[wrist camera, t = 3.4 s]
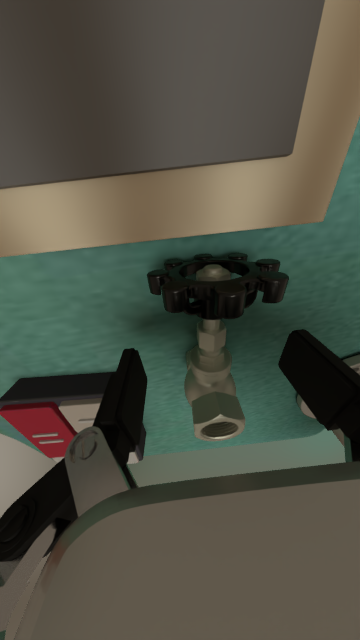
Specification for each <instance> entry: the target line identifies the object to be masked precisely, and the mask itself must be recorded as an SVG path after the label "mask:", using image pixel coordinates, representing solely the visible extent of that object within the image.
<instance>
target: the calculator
mask: <svg viewBox="0 0 360 640" xmlns="http://www.w3.org/2000/svg"><path fill="white" fill-rule="evenodd" d="M112 373H114V372H107V373H93V374H78V375H64V376H50V377H35V378H22V379H19V380H18V381H17V382H16V383H15V384H14V385H13V386H12V387H11V388H10V389H9V390H8V391H7V392H6V393H5V394H4V395H3V396H2V397H1V398H0V408H1V409H0V415H1V416H2V417H4V418H5V419H6V420H7V421H8V422H9V423H10V424H11V425H13V426H14V427H15V428H16V429H17V430H18V431H19V432H20V433H21V434H23V435H24V436H25V437H26V438H27V439H28V440H29V441H30V442H32V443H33V444H34V445H35V446H36V447H37V448H38V449H39V450H41V451H42V452H43V453H44V454H45V455H46V456H47V457H49V458H53V459H54V460H55V461H56V462H57V463H58V462H60V461H61V460H62V459H63V458H64V457H65V453H66V449H67V447H68V445H69V443H70V442H71V440H72V439H73V438H74V436H76V435H77V434H78V433H79V432H80V431H82V430H83V429H85V428H87V427H90V426H92V425H93V423H94V420H95V417H96V414H97V412H98V409H99V406H100V403H101V400H102V398H103V395H104V392H105V389H106V387H107V384H108V381H109V378H110V376H111V374H112ZM145 438H146V431H145V428H144V426H143V423H142V428H141V436H140V443H139V445H137V446H136V450H135V452H131V453H129V459H128V462H127V464H130V463H138V462H139V461H140V460H142V459H143V454H144V446H145Z"/></svg>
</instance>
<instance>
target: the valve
mask: <svg viewBox="0 0 360 640" xmlns="http://www.w3.org/2000/svg"><path fill="white" fill-rule="evenodd" d="M247 257H248V256H247V254H243V253H234V254H230V255H228V258H212V255H211V254H198V255H196V256H195V257H194V259H195V261H190V262H183V261H182V260H178V259H174V260H168V261H166V262H165V263H164V266H165V270H163V269H160V270H154V271H151V272H149V273H148V274H147V278H148V283H149V288H150V292H151V293H152V294H154V295H161V291H162V297H163V303H164V308H165V310H166V311H168V312H171V313H180V312H184V313H186V314H188V315H197V316H198V317H200V318H202V319H203V320H202V321H200V322H199V323H197V339H198V345H197V346H195V347H194V348H193V349H192V350H190V351H188V352H187V353H186V360H187V370H188V372H187V374H186V377H185V383H184V389H185V394H186V398H187V400H188V402H189V404H190V405H191V407H192V414H193V423H194V432H195V437H197V438H199V439H202V440H206V441H221V440H226V439H230V438H233V437H235V436H237V435H239V434H240V433H241V432H242V431H243V430H244V427H245V417H244V414H243V411H242V409H241V406H240V403H239V401H238V398H237V397H236V386H235V382H234V379H233V377H232V375H231V373H230V369H231V363H232V357H231V354H230V352H229V351H228V350H227V349H226V348H225V347H224V346H225V340H226V327H225V325H224V323H223V322H222V321H220V319H222V318H224V319H235V318H238V317H240V316H242V315H243V313H244V309H245V308H247V307H249V306H250V305H251V304H252V303H253V302H254V301H255V299H256V296H257V293H258V290H259V291H262V292H264V294H263V299H262V302H263V303H278V302H280V301H282V299H283V297H284V293H285V290H286V287H287V283H288V280H289V276H288V275H287V274H285V273H282V272H278V271H279V267H280V261H278V260H274V259H260V260H257V261H256V262H248V261H247ZM230 272H231V273H236V274H239V275H241V276H242V277H239V278H235V279H231V280H230V278H231V274H230ZM195 273H196V280H191V279H187V278H185V277H186V276H189V275H191V274H195ZM189 298H193V299H194V302H192V303H189Z"/></svg>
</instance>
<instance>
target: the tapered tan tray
mask: <svg viewBox="0 0 360 640" xmlns="http://www.w3.org/2000/svg"><path fill="white" fill-rule="evenodd" d="M359 116H360V0H0V257H6V256H15V255H24V254H33V253H42V252H51V251H60V250H69V249H78V248H88V247H97V246H106V245H115V244H124V243H133V242H142V241H151V240H160V239H169V238H178V237H188V236H197V235H206V234H215V233H224V232H233V231H242V230H251V229H260V228H269V227H278V226H288V225H297V224H306V223H315V222H323V220H324V217H325V214H326V211H327V209H328V206H329V203H330V200H331V197H332V194H333V191H334V188H335V186H336V183H337V180H338V177H339V174H340V171H341V168H342V165H343V162H344V160H345V157H346V154H347V151H348V148H349V145H350V142H351V139H352V136H353V134H354V131H355V128H356V125H357V122H358V119H359Z"/></svg>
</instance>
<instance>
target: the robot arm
mask: <svg viewBox="0 0 360 640" xmlns="http://www.w3.org/2000/svg"><path fill="white" fill-rule="evenodd" d="M278 365H279V368H280V369H281V371H282V372H283V373H284V375H285V376H286V378H287V379H288V380H289V382H290V383H291V384H292V386H293V387H294V389H295V390H296V391H297V393H298V396H297V404H298V406H299V407H300V409H301V410H302V412H303V413H304V414H305V415H307V416H309V417H312V418H315V419H317V420H318V421H319V422H320V423H321V424H323V425H324V426H325V428H326V429H327V430H328V431H329V430H332V431H333V433H334V434H335V435H336V436H337V438H338V439H339V441H340V442H341V443H342V445H343V446H344V448H345V461H346V463H337V464H327V465H318V466H309V467H299V468H291V469H281V470H272V471H264V472H255V473H246V474H237V475H229V476H220V477H211V478H203V479H194V480H185V481H178V482H171V483H163V484H156V485H149V486H145V487H138V485H137V483H136V481H135V479H134V477H133V475H132V473H131V471H130V469H129V467H128V465H127V462H128V459H129V453H131V452H135V450H136V446H137V445H139V443H140V436H141V428H142V420H143V412H144V405H145V397H146V389H147V376H146V373H145V370H144V367H143V364H142V361H141V358H140V355H139V352H138V350H135V349H134V348H131V349H124V350H123V353H122V356H121V359H120V362H119V365H118V368H117V371H116V372H114V373H112V374H111V376H110V378H109V381H108V384H107V387H106V389H105V392H104V395H103V398H102V400H101V403H100V406H99V409H98V412H97V414H96V417H95V420H94V423H93V425H92V426H90V427H87V428H85V429H83V430H82V431H80V432H79V433H78V434H77V435H76V436H74V438H73V439H72V440H71V442H70V443H69V445H68V447H67V449H66V453H65V457H64V458H63V459H62V460H61V461H60V462H58V463H57V464H56V465H55V466H54V467H53V468H52V469H51V470H50V471H49V472H47V473H46V474H45V475H44V476H43V477H42V478H41V479H40V480H39V481H37V482H36V483H35V484H34V485H33V486H32V487H31V488H30V489H28V490H27V491H26V492H25V493H24V494H23V495H22V496H21V497H20V498H19V499H17V500H16V501H15V502H14V503H13V504H12V505H11V506H10V507H9V508H8V509H7V510H6V512H5V513H4V514H3V516H2V517H1V518H0V640H4V638H5V632H6V628H7V625H8V622H9V619H10V616H11V613H12V611H13V610H14V608H15V606H16V604H17V602H18V600H19V598H20V596H21V595H22V593H23V592H24V590H25V589H26V587H27V585H28V584H29V581H28V579H29V578H30V576H31V575H32V573H33V572H34V570H35V568H36V567H37V565H38V564H39V562H40V561H41V559H42V558H43V557H45V556H47V555H48V554H49V552H51V553H50V555H49V557H48V559H47V561H46V563H45V565H44V567H43V569H42V572H41V574H40V576H39V578H38V581H37V583H36V585H35V587H34V590H33V592H32V595H31V597H30V600H29V602H28V604H27V607H26V609H25V612H24V615H23V617H22V620H21V622H20V625H19V627H18V630H17V633H16V635H15V638H14V640H360V354H359V355H356V356H353V357H350V358H347V359H344V360H341V359H340V358H339V357H338V356H336V355H335V354H334V353H333V352H332V351H330V350H329V349H328V348H327V347H326V346H324V345H323V344H322V343H321V342H320V341H318V340H317V339H316V338H315V337H314V336H313V335H311V334H310V333H309V332H308V331H306V330H304V329H302V330H294V331H292V332H291V333H290V334H289V336H288V339H287V342H286V344H285V347H284V349H283V352H282V355H281V357H280V360H279V363H278Z"/></svg>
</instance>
